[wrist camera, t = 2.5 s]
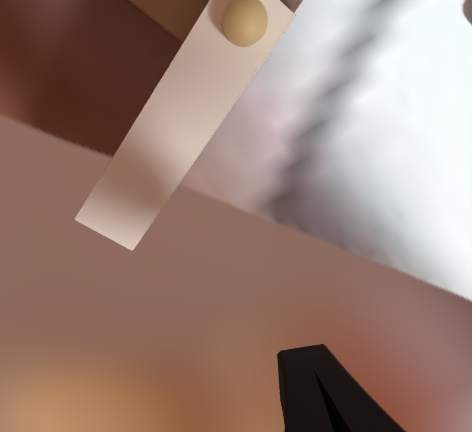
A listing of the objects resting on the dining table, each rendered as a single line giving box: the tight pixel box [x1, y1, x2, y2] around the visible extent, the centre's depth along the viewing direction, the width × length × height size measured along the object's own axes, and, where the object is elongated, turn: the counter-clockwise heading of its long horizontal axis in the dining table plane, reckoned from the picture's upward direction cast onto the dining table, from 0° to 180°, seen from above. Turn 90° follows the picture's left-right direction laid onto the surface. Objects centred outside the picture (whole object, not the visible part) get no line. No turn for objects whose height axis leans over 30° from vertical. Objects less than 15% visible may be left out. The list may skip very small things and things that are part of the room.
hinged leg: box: [75, 0, 296, 251], centre depth 13 cm, size 10×2×3 cm, turn 143°
